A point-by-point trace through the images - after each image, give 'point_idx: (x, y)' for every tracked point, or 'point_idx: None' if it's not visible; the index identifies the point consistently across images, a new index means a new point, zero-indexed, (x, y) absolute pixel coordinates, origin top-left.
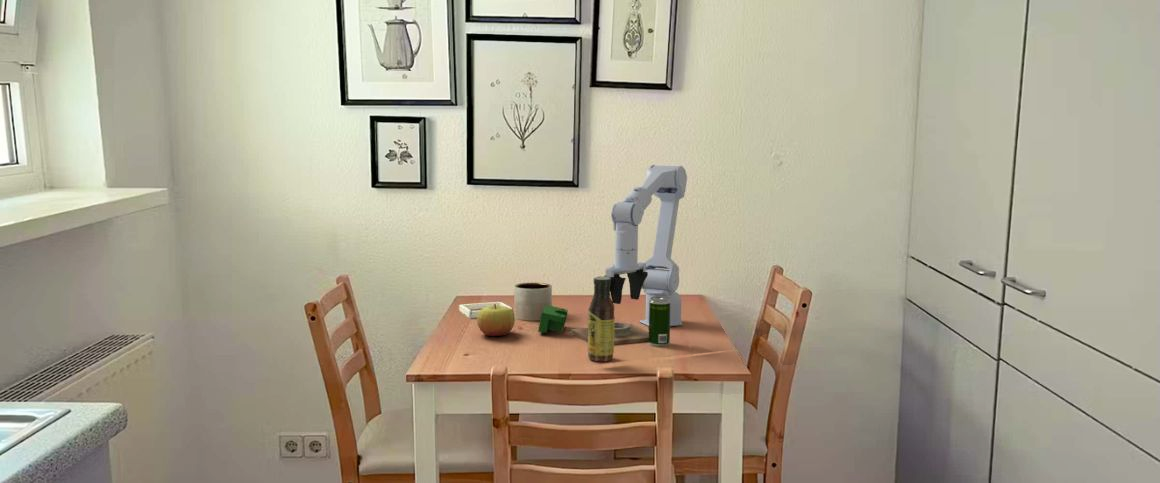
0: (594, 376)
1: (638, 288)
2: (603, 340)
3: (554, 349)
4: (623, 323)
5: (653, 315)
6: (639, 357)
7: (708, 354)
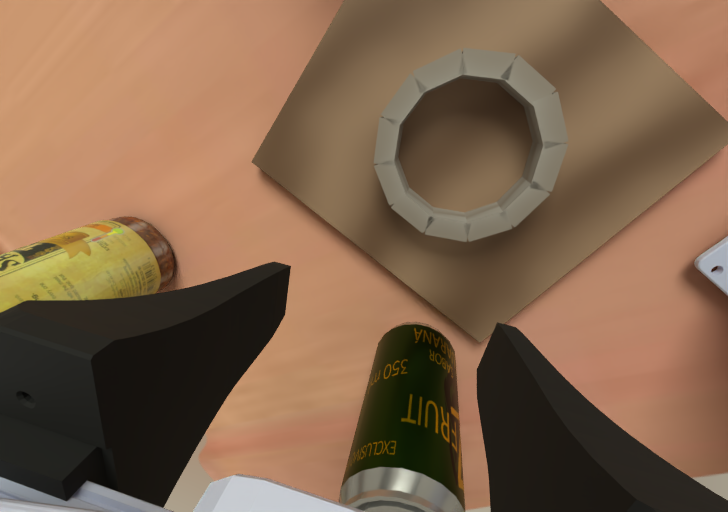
0: None
1: (491, 452)
2: None
3: (119, 25)
4: (539, 178)
5: (355, 433)
6: None
7: None
